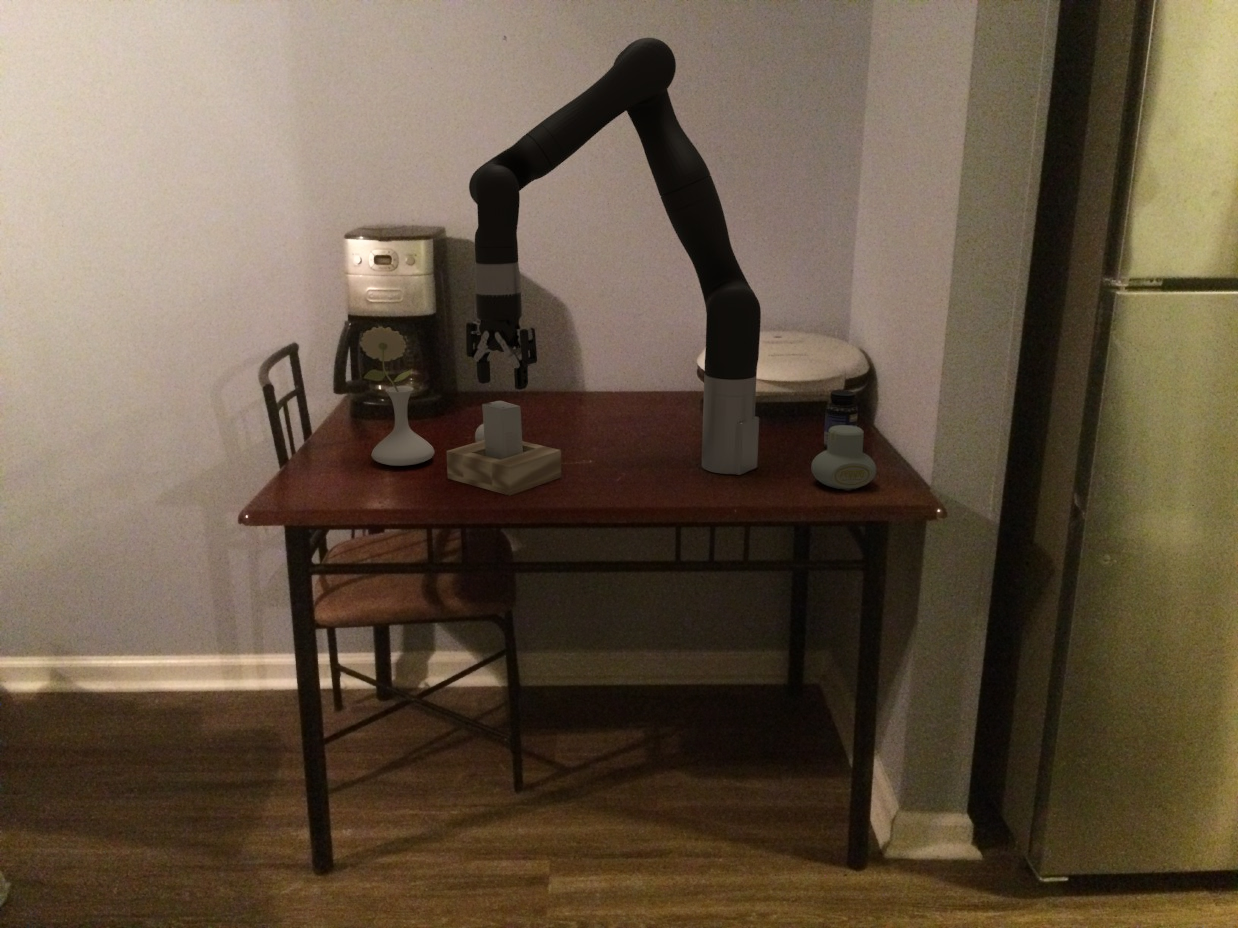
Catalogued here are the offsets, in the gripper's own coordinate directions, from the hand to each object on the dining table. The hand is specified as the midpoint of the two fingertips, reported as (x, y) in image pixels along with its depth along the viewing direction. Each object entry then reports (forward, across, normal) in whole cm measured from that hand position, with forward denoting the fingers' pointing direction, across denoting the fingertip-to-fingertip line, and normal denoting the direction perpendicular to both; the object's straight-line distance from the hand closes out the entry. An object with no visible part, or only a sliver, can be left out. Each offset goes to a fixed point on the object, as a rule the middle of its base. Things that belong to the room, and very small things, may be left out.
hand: (502, 385), depth 174 cm
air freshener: (+18, -48, -34) cm, 61 cm away
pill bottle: (+18, -37, -55) cm, 68 cm away
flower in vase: (+16, +22, +5) cm, 28 cm away
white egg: (+17, +15, -10) cm, 25 cm away
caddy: (+17, 0, 0) cm, 17 cm away
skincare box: (+16, +1, 0) cm, 16 cm away
